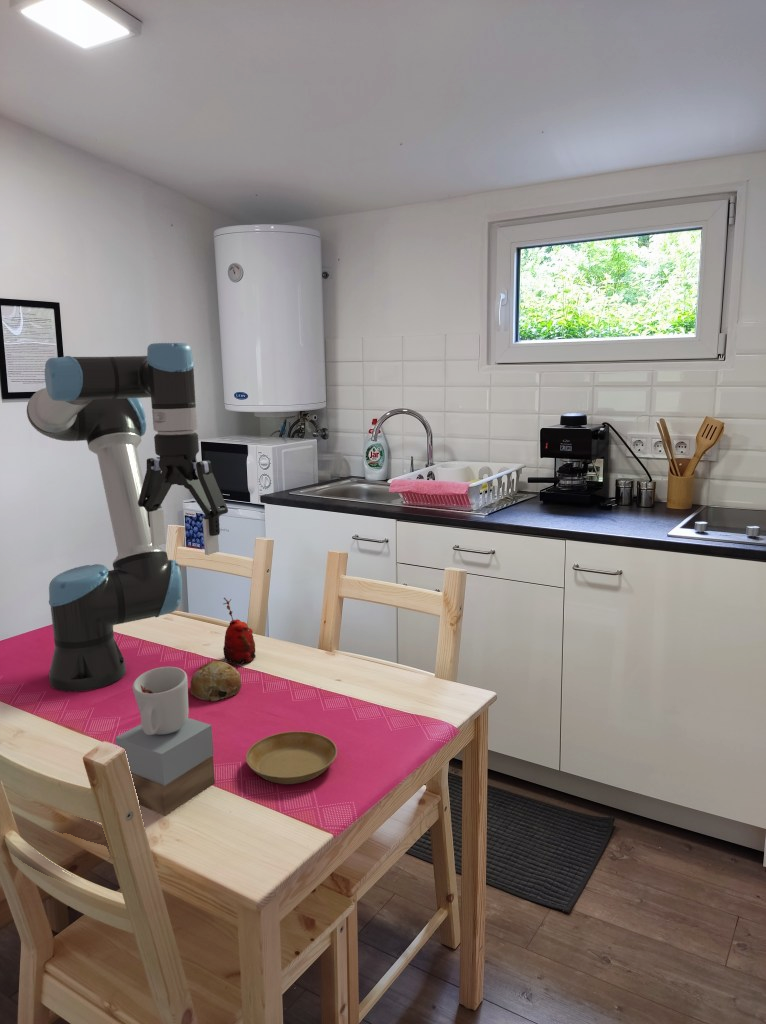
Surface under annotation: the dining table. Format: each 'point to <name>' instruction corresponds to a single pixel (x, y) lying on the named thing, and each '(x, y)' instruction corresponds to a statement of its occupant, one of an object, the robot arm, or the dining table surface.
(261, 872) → the dining table surface
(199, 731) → the grey block
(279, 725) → the dining table surface
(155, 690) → the cup
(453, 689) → the dining table surface
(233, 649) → the red textured ornament
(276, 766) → the plant saucer
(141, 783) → the walnut block
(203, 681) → the bread roll
